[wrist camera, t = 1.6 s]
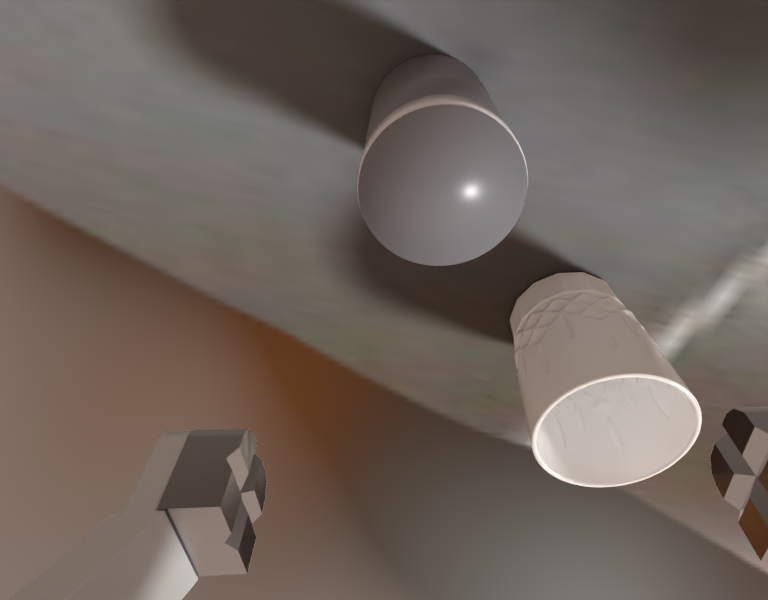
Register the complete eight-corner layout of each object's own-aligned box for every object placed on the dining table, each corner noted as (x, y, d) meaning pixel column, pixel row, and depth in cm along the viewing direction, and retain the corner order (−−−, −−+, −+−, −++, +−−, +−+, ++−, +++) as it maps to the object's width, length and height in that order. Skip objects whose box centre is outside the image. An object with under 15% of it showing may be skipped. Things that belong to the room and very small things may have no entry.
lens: (491, 47, 25) (535, 96, 17) (488, 170, 29) (523, 262, 20) (364, 58, 26) (346, 111, 17) (375, 178, 29) (365, 271, 21)
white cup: (598, 370, 36) (656, 496, 28) (485, 353, 36) (511, 477, 27) (648, 272, 32) (735, 387, 24) (521, 252, 31) (564, 362, 23)
